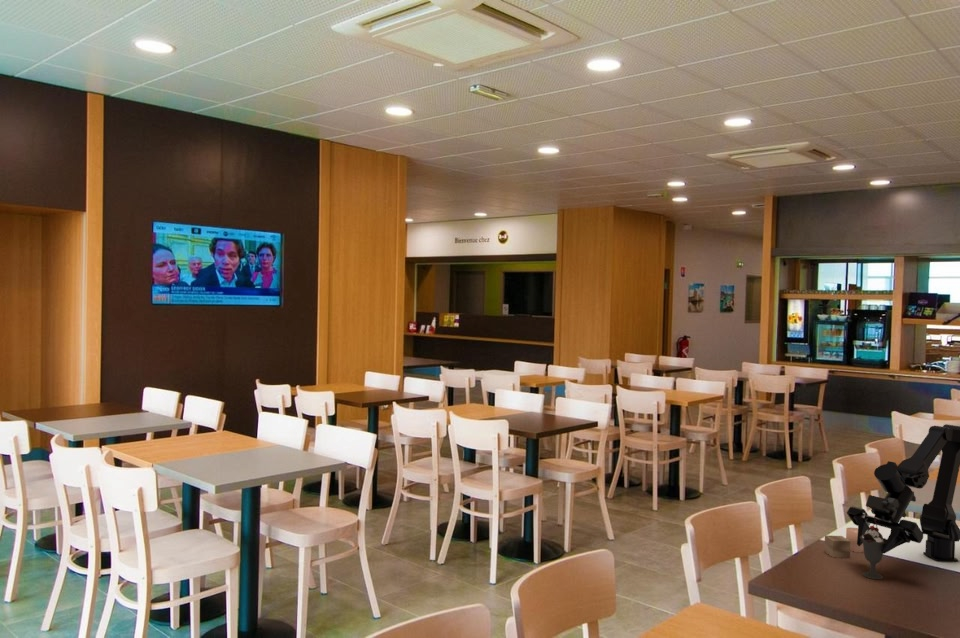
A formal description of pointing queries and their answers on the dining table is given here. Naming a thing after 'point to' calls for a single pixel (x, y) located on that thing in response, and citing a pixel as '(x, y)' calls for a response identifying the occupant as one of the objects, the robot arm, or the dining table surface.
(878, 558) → the sundae
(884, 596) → the dining table surface
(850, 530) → the pink block
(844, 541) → the walnut block
